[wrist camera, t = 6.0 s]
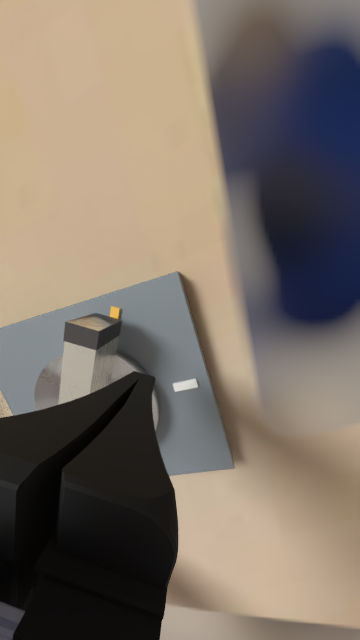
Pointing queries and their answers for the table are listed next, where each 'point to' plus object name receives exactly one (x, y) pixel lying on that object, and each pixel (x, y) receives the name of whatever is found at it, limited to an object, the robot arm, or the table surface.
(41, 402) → the dial
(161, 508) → the robot arm
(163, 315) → the dial plate
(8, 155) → the table surface
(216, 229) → the table surface
